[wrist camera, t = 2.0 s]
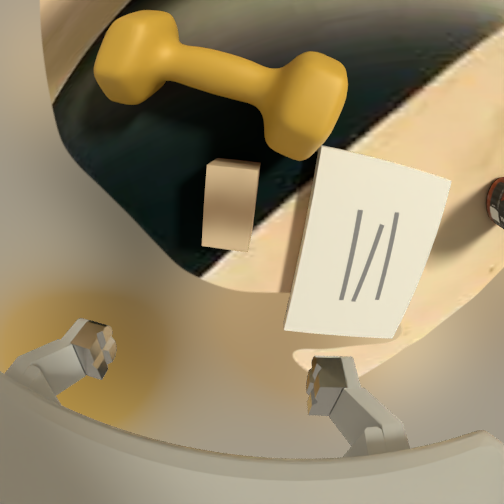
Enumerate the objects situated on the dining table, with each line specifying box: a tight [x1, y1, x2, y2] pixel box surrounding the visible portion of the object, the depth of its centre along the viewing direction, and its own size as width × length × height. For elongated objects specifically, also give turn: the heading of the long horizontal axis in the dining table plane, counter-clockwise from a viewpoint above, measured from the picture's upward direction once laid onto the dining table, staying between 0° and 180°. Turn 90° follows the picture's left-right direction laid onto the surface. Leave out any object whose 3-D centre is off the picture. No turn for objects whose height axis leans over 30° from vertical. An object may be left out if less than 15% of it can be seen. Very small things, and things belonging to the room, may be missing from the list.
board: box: [284, 145, 451, 338], centre depth 27 cm, size 20×14×2 cm
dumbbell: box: [94, 10, 348, 161], centre depth 18 cm, size 19×9×8 cm, turn 68°
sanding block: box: [202, 158, 261, 252], centre depth 25 cm, size 7×4×4 cm, turn 173°
